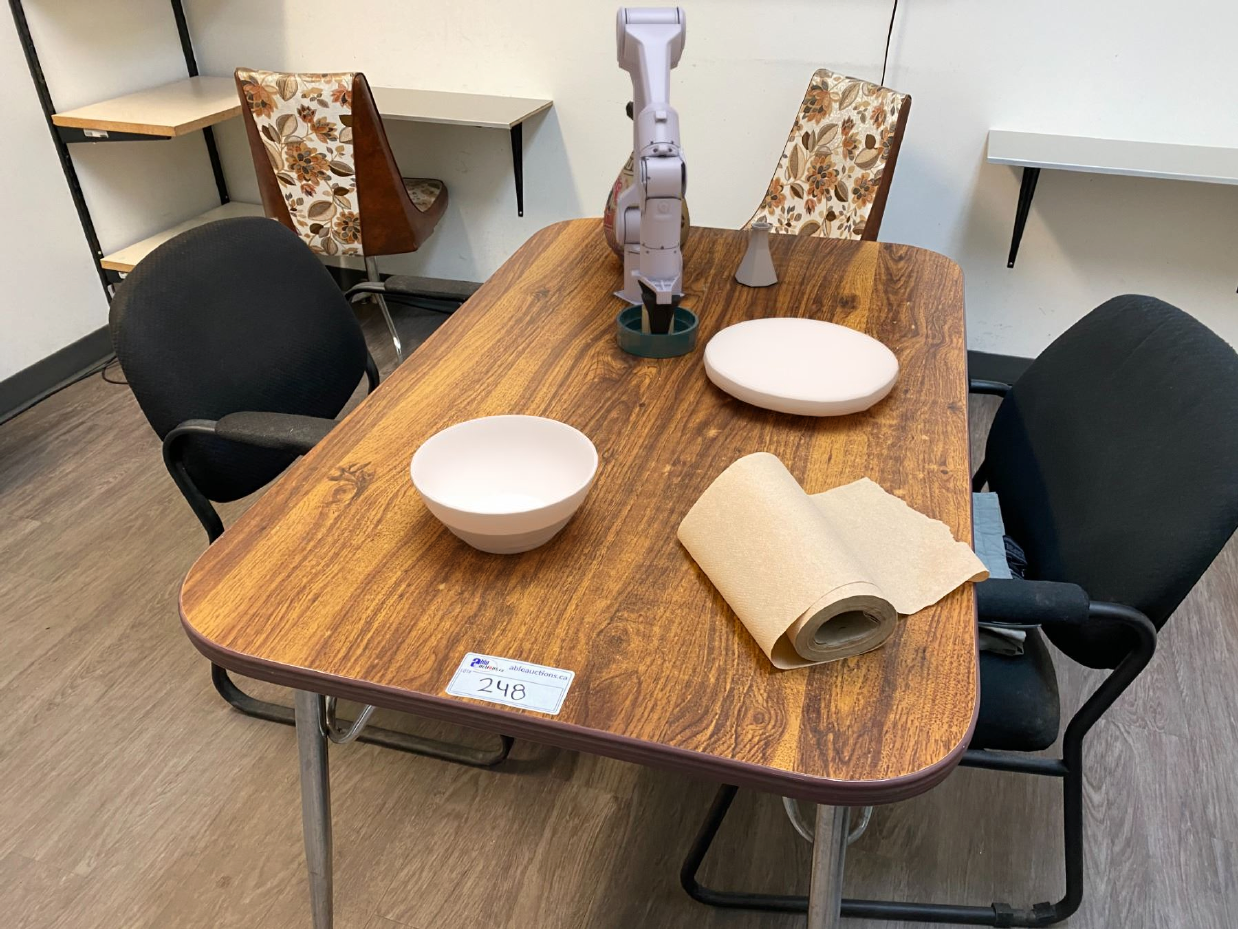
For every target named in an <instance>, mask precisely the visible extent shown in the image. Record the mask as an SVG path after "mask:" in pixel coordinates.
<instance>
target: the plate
mask: <svg viewBox="0 0 1238 929" xmlns="http://www.w3.org/2000/svg"><path fill="white" fill-rule="evenodd" d="M702 357H703V359H702V360H703V364H704V368H705V373H706V376H707V377H708V378H709V379H710V381H711V382H712V383H713V384H714V385H715V386H717V387H718V388H719V389H721V390H722V391H723V392H725V393H727V394H729V395H730V396H732V397H734V398H736V399H738V400H739V401H742V402H745V403H746V404H750V405H753V406H755V407H759V408H763V409H767V410H772V411H775V412H780V413H785V414H791V415H792V414H793V415H799V416H811V417H833V416H845V415H850V414H854V413H860V412H864V411H866V410H868V409H869V408H871V407H872V406H874V405H875V404H877V403H878V402H880V401H881V400H883V399H884V398H886V396H887V395H888V394H890V393H891V391H892V389H893V388H894V386H895V384H896V382H897V381H898V379H899V375H900V373H899V361H898V359H897V357H896V355H895V354H894V352H893V351H892V350H891V349H890V348H888V347H887V346H886V345H885V344H884V343H882V342H881V341H879V340H877V339H875V338H873V337H872V336H870V335H868V334H866V333H864V332H860V331H858V330H855V329H852V328H850V327H847V326H844V325H840V324H836V323H833V322H829V321H823V320H817V319H810V318H802V317H801V318H800V317H799V318H798V317H769V318H760V319H758V318H757V319H751V320H746V321H741V322H738V323H735V324H733V325H730V326H727V327H724V328H723V329H722V330H720V331H718V332H716V333H715V334H714V335H713V337H711V339H710V340H709V341H708V343H707V344H706V347H705V349H704V353H703V356H702Z"/></svg>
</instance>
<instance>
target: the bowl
mask: <svg viewBox="0 0 1238 929" xmlns="http://www.w3.org/2000/svg"><path fill="white" fill-rule="evenodd" d="M598 467H599V455H598V452H597V450H596V447H595V445H594V444H593V442H592V441H591V440H590V439H589V437H588V436H586V435H585V434H584V433H583V432H581V431H580V430H579V429H577V428H575V427H573V426H571V425H570V424H567V423H564V422H561V421H558V420H555V419H551V418H547V417H543V416H536V415H527V414H500V415H490V416H483V417H479V418H473V419H469V420H466V421H462V422H458V423H456V424H453V425H452V426H449V427H447V428H444V429H442V430H440V431H439V432H436V434H434V435H432V436H431V437H429V438H428V439H426V441H424V442H423V443H422V444H421V445H420V446H419V448H418V449H417V450H416V452H415V453H414V455H413V457H412V459H411V462H410V465H409V476H410V479H411V482H412V484H413V486H414V487H415V489H416V491H417V493H418V494H419V496H420V497H421V499H422V501H423V503H424V504H425V505H426V507H427V509H428V510H429V511H430V513H432V514H433V515H434V517H436V518H437V519H438V520H439V521H440V523H441V524H442V525H443V526H445V527H446V528H448V529H449V531H450V533H452V534H453V535H454V536H456V537H457V538H459V539H460V540H462V541H464V542H465V543H466V544H468V545H469V546H470V547H472V548H475V549H476V550H479V551H481V552H485V553H490V554H497V555H513V554H520V553H525V552H529V551H531V550H534V549H537V548H539V547H541V546H543V545H545V544H547V543H548V542H549V541H550V540H551V539H553V538H554V537H555V535H556V534H557V533H559V532H560V531H561V530H562V529H563V528H565V526H566V525H567V524H568V522H569V521H570V519H571V518H572V517H573V516H574V514H575V513H577V511H578V510H579V508H580V506H582V504H583V502H584V501H585V499H586V497H587V495H588V492H589V490H590V488H591V485H592V484H593V483H592V482H593V481H594V478H595V476H596V473H597V470H598Z"/></svg>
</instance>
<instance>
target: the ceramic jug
mask: <svg viewBox="0 0 1238 929" xmlns="http://www.w3.org/2000/svg"><path fill="white" fill-rule="evenodd" d="M625 112H626V116H627V117H628V118H629V119H630V120H631V121H633V101H630V100H629V101H628V102H627V104H626V106H625ZM633 183H634V153H633V151H632V152H630V155H629V157H628V159H627V160H626V161H625V164H624V165H623V166H622V168H621V170H620V172H619V173H618V176H617V178H616V179H615V181H614V182H613V184H612V187H611V189H610V191H609V193H608V196H607V199H606V203H605V207H604V211H603V222H602V223H603V224H602V225H603V226H602V227H603V232H604V235H605V239H606V244H607V246H608V247H609V248H610V250H611V251H612V252H613V253H614V254H615V255H616V257H617V258H618V259H619V261H620V262H621V264H622V265H623V266H624V246H620V245H619V243H618V242H617V239H616V210H617V199H618V197H619V195H620V194H621V193H623V192H624V191H625V190H626V189H628V188H629V187H630V186H631V185H632V184H633ZM680 198H681V200H682V207H681V230H680V251H681V252H682V251H683V250H684V247H685V246H686V243H687V242H688V238H689V235H690V230H691V218H690V212H689V208H688V203H687V200H686V197H685V198H684V199H683V198H682V195H681V193H680ZM629 206H639V204H631V205H629Z"/></svg>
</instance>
